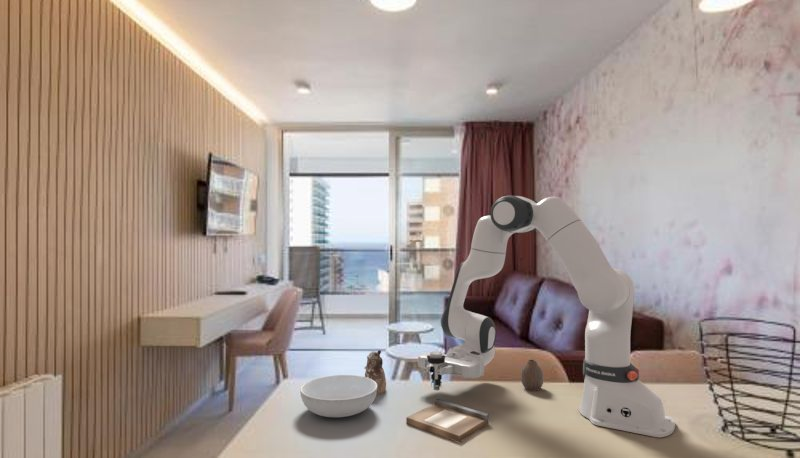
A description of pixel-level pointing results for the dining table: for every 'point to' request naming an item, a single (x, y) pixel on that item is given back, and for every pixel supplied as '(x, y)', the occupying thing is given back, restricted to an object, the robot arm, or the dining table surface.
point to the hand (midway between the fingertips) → (433, 370)
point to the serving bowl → (338, 395)
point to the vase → (532, 376)
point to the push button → (436, 360)
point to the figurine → (376, 371)
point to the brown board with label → (449, 420)
